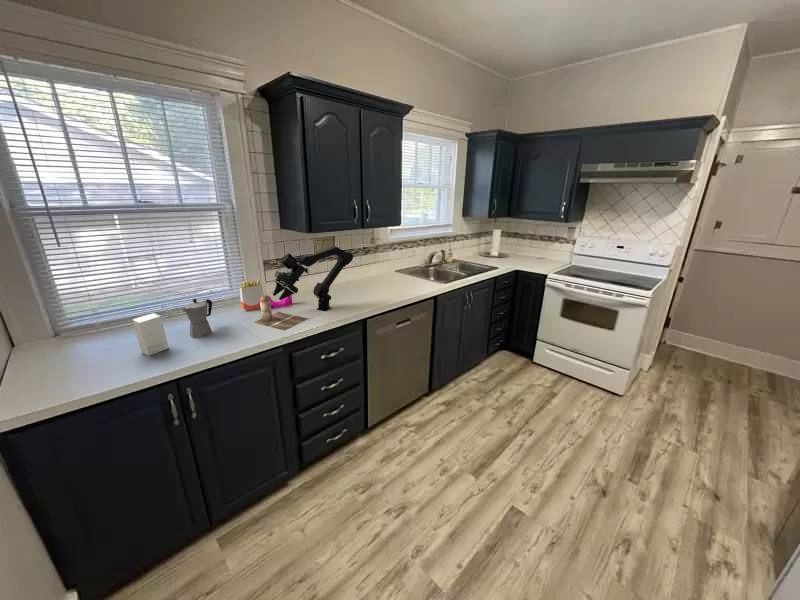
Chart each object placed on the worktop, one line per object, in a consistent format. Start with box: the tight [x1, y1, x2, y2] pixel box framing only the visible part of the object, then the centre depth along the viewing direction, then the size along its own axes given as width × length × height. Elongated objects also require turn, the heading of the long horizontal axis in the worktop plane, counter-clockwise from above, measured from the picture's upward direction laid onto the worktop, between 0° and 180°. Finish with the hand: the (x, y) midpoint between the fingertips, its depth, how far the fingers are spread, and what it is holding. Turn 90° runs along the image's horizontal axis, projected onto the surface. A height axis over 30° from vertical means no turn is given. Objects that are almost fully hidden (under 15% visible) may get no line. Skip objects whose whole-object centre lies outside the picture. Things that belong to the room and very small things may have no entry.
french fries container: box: [239, 279, 263, 312], centre depth 186 cm, size 5×11×18 cm, turn 135°
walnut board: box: [252, 311, 310, 332], centre depth 172 cm, size 18×22×1 cm
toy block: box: [267, 294, 293, 310], centre depth 193 cm, size 15×6×8 cm, turn 129°
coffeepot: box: [182, 298, 213, 339], centre depth 155 cm, size 15×9×18 cm, turn 162°
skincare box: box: [132, 313, 169, 356], centre depth 138 cm, size 8×7×16 cm
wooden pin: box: [260, 295, 273, 322], centre depth 170 cm, size 5×5×14 cm
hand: (276, 297), depth 172 cm, fingers open, 9 cm apart
